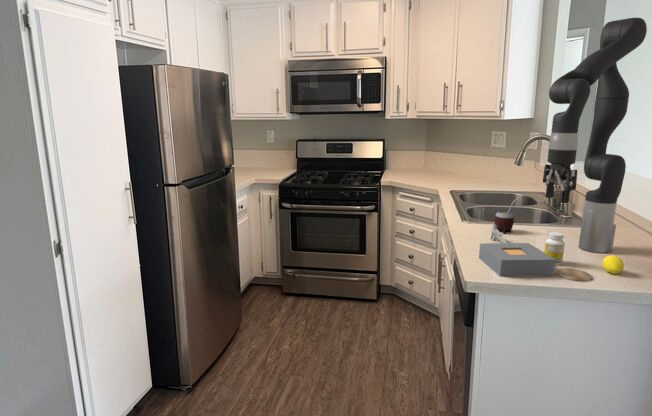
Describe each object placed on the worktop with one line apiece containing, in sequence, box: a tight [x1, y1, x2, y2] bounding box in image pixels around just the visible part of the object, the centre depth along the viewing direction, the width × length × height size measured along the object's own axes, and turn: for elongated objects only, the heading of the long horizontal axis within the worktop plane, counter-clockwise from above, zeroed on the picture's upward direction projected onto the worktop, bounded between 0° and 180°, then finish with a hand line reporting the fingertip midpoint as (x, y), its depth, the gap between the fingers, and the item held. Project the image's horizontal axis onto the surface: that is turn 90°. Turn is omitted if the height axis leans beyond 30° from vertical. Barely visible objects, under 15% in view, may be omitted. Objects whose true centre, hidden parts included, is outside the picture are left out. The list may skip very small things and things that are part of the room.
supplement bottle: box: [544, 231, 566, 266], centre depth 136 cm, size 5×5×10 cm
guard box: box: [478, 242, 556, 277], centre depth 133 cm, size 16×16×5 cm
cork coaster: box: [555, 267, 592, 282], centre depth 127 cm, size 9×9×1 cm
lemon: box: [601, 254, 625, 275], centre depth 129 cm, size 7×5×5 cm
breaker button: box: [504, 250, 526, 255], centre depth 133 cm, size 6×6×2 cm
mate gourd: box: [494, 197, 521, 235], centre depth 170 cm, size 8×8×15 cm
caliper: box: [490, 224, 509, 243], centre depth 152 cm, size 20×1×6 cm, turn 1°
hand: (556, 200), depth 134 cm, fingers open, 8 cm apart
